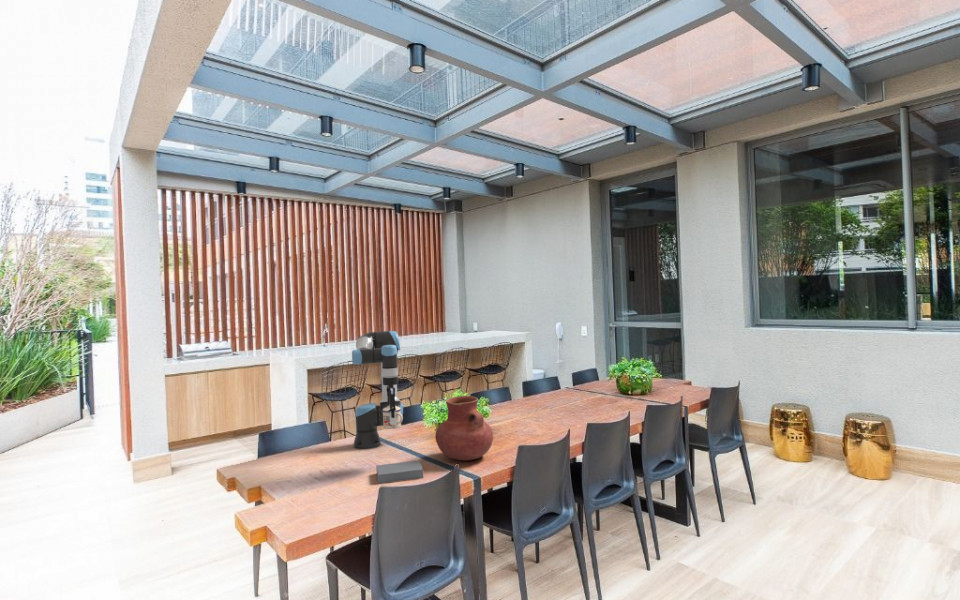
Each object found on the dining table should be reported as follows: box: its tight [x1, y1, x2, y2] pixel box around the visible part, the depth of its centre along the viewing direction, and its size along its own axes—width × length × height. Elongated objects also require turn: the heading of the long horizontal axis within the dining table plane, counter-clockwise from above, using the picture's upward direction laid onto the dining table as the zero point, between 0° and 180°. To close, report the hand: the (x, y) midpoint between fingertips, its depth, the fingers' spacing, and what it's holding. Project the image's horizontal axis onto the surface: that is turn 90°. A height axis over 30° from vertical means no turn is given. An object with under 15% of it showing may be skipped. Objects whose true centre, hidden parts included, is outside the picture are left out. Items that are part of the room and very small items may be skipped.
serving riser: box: [375, 459, 424, 485], centre depth 231 cm, size 14×20×4 cm
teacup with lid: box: [382, 404, 404, 430], centre depth 247 cm, size 12×9×12 cm
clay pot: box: [435, 395, 494, 461], centre depth 255 cm, size 30×29×30 cm
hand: (392, 421), depth 248 cm, fingers closed on teacup with lid, 9 cm apart
